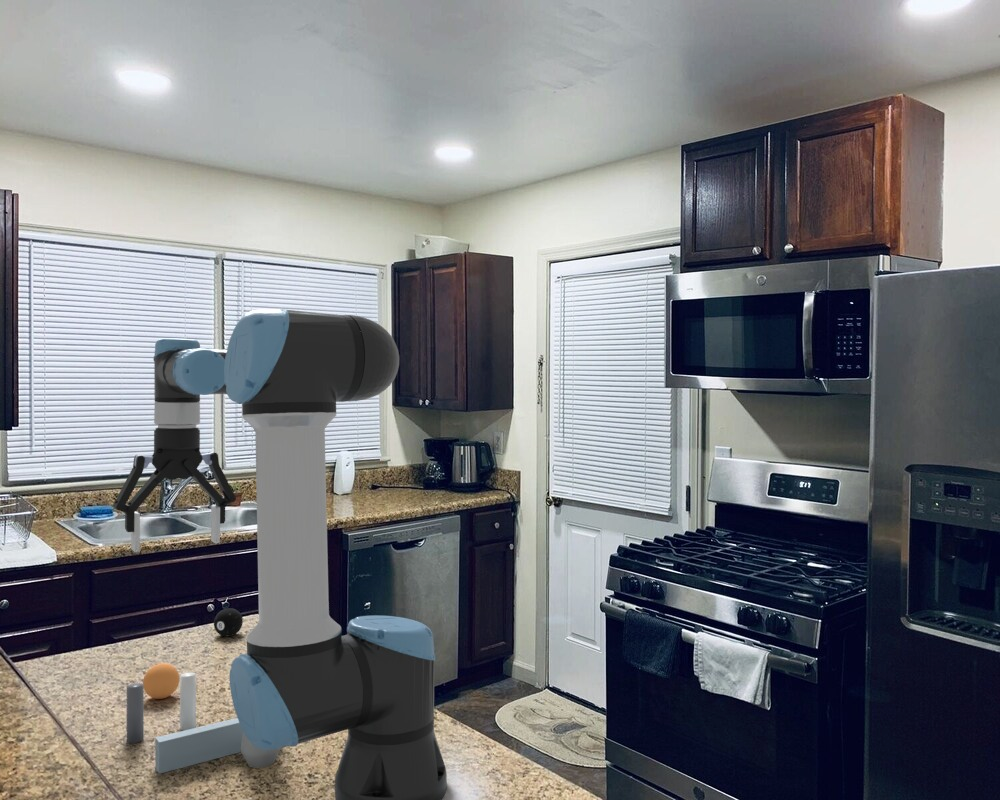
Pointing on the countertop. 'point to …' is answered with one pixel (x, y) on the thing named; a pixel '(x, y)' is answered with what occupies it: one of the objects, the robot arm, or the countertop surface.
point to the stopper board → (197, 745)
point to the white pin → (187, 701)
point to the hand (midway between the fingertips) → (176, 546)
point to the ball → (161, 681)
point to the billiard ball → (228, 622)
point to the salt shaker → (257, 754)
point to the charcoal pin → (135, 713)
